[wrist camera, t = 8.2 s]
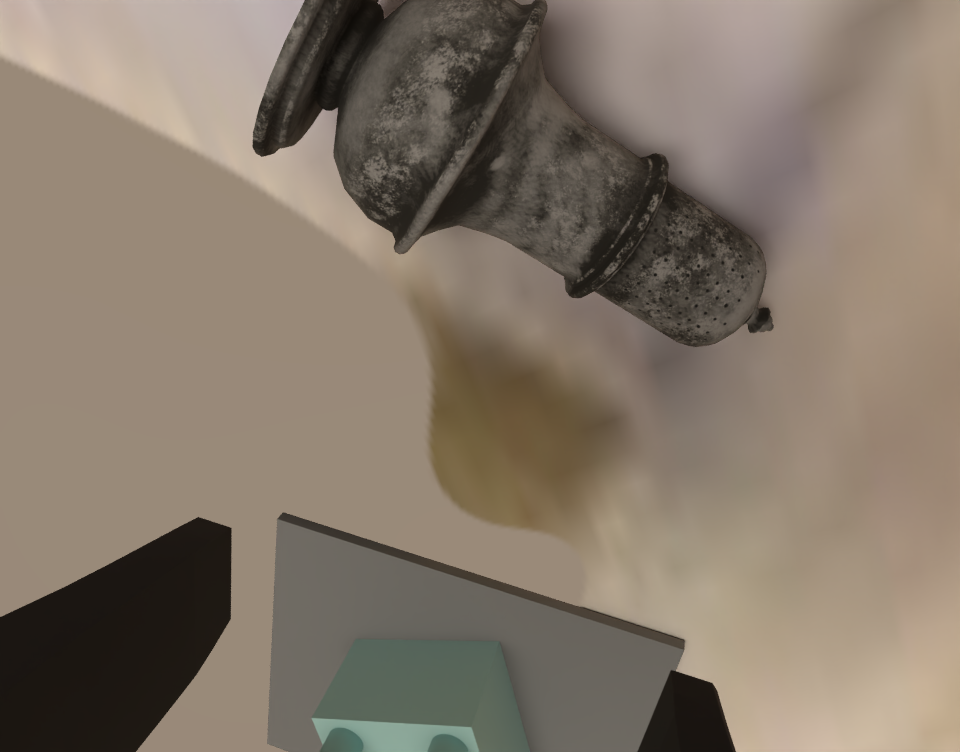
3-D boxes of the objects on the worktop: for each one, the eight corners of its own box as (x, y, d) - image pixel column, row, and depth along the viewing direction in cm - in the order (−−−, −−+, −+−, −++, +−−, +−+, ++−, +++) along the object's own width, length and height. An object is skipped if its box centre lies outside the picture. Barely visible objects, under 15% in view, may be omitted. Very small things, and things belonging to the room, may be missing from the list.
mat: (684, 640, 23) (684, 650, 23) (595, 856, 29) (594, 866, 29) (283, 512, 26) (277, 518, 25) (272, 735, 31) (267, 743, 31)
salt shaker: (371, -10, 18) (749, 243, 21) (252, 195, 17) (658, 429, 20) (410, -187, 12) (924, 193, 15) (234, 106, 12) (806, 451, 14)
